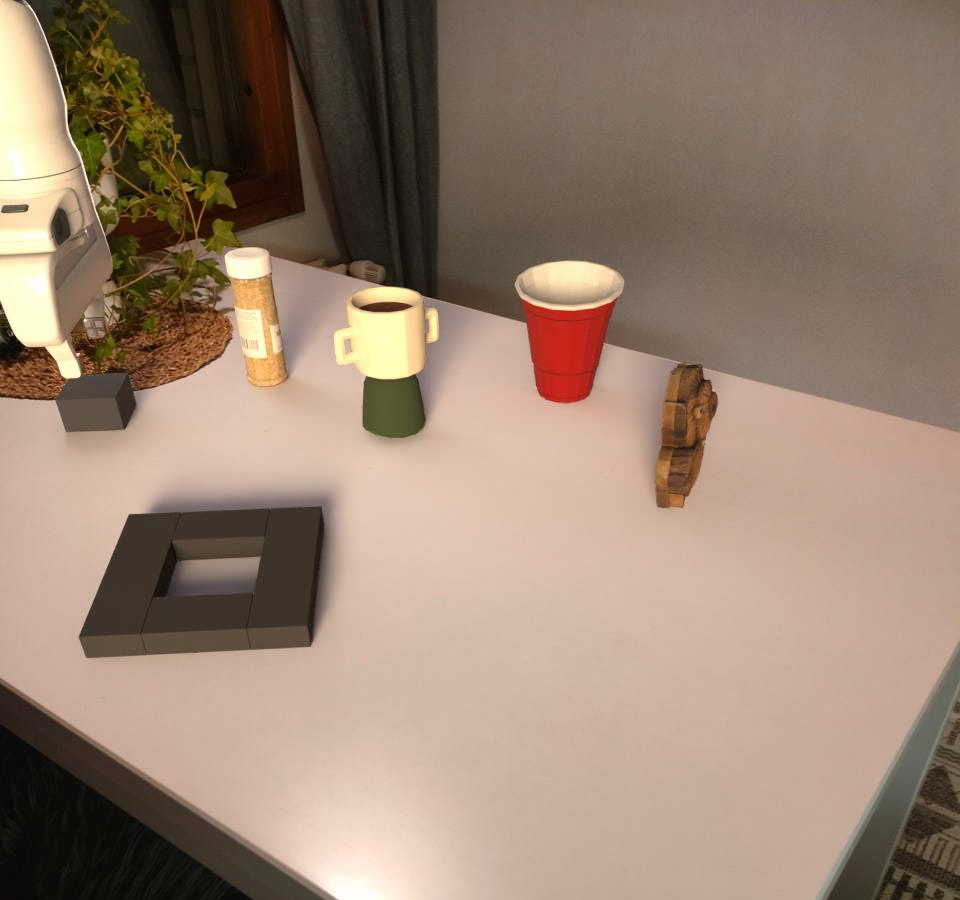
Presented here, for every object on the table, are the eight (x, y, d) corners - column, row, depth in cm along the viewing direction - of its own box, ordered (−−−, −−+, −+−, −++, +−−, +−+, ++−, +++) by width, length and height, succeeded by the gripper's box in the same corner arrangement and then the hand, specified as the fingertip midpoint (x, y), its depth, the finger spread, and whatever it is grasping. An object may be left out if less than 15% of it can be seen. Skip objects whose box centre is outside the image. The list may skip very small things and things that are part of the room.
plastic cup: (497, 404, 96) (498, 289, 88) (533, 364, 103) (536, 254, 95) (597, 423, 92) (607, 304, 85) (626, 380, 100) (637, 267, 92)
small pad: (65, 432, 92) (54, 399, 89) (80, 406, 96) (70, 374, 94) (124, 430, 92) (115, 397, 90) (136, 404, 96) (128, 372, 94)
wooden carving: (700, 532, 77) (720, 424, 71) (646, 525, 78) (660, 418, 72) (707, 440, 90) (724, 341, 83) (660, 436, 90) (673, 337, 84)
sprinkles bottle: (296, 379, 101) (278, 252, 92) (261, 391, 98) (240, 263, 90) (272, 366, 103) (253, 242, 95) (238, 378, 101) (214, 252, 92)
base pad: (86, 658, 65) (77, 637, 64) (134, 533, 78) (128, 513, 76) (311, 647, 66) (307, 626, 65) (324, 525, 78) (321, 505, 77)
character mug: (423, 402, 96) (417, 276, 88) (459, 429, 92) (456, 299, 83) (329, 429, 92) (313, 299, 83) (362, 459, 87) (348, 324, 79)
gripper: (38, 174, 88) (82, 315, 97) (-38, 241, 73) (22, 402, 82) (105, 171, 89) (142, 312, 98) (43, 237, 73) (94, 398, 82)
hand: (87, 354), depth 90 cm, fingers open, 8 cm apart
